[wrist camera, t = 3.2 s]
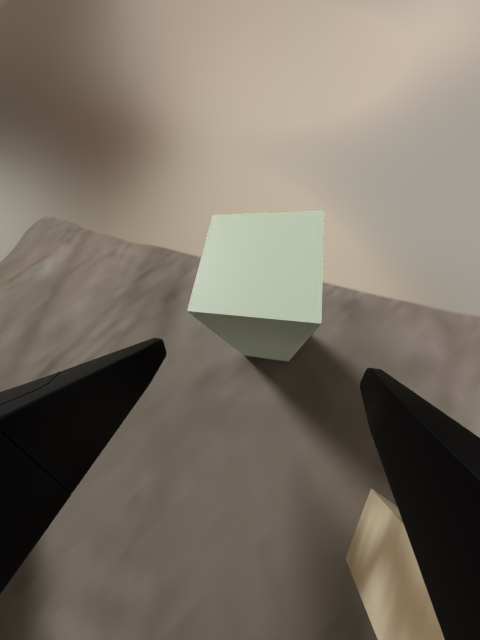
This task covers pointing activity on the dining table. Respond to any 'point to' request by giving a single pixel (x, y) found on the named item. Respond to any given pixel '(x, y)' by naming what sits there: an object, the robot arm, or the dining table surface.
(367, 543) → the birch block
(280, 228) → the sage block
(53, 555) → the dining table surface
